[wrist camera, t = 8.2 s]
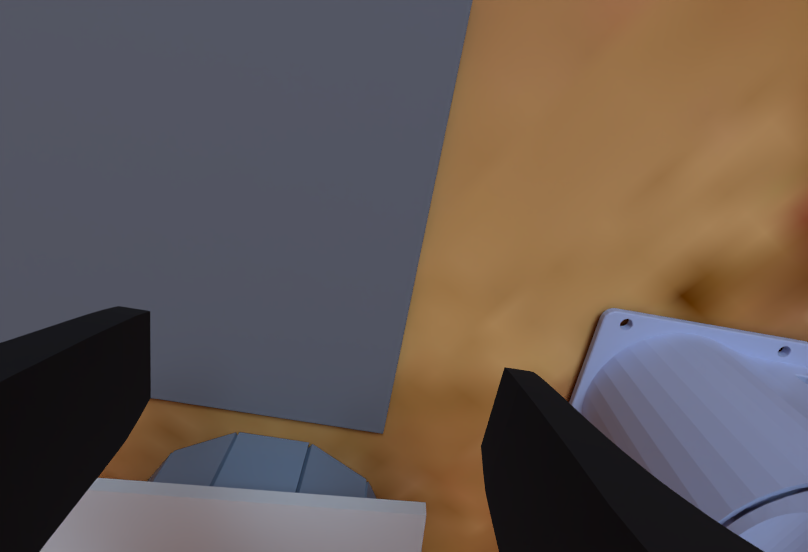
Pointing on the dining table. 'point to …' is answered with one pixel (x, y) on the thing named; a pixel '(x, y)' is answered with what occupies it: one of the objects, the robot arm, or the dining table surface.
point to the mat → (228, 186)
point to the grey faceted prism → (262, 467)
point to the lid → (233, 521)
